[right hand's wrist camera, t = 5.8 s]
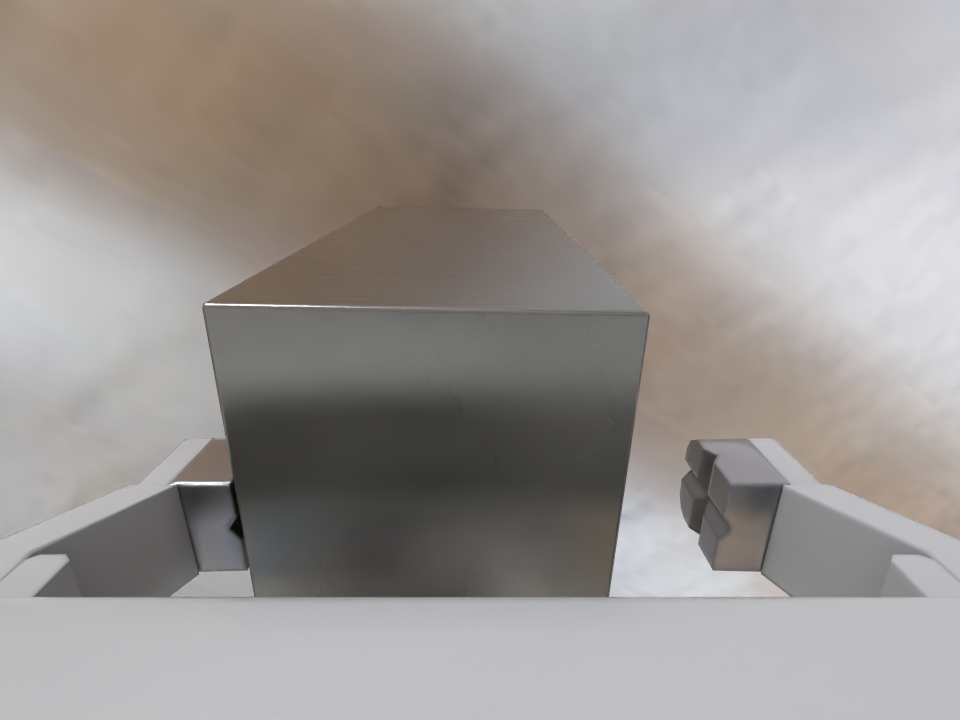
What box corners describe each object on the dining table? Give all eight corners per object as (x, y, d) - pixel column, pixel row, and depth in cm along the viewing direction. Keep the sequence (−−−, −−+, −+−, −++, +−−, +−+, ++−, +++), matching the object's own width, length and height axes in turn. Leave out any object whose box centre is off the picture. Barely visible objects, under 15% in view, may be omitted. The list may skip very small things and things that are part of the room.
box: (377, 206, 19) (199, 303, 7) (542, 209, 19) (651, 312, 7) (401, 692, 28) (343, 1093, 16) (512, 694, 28) (536, 1095, 16)
